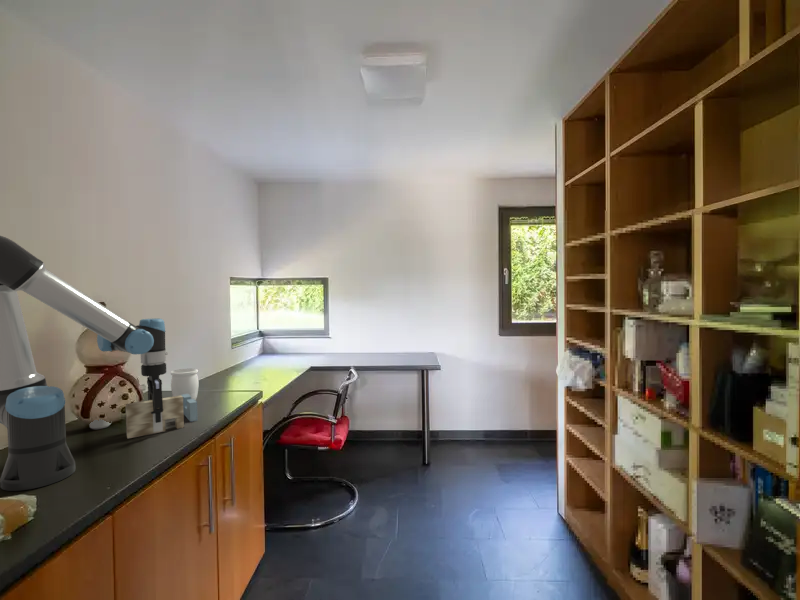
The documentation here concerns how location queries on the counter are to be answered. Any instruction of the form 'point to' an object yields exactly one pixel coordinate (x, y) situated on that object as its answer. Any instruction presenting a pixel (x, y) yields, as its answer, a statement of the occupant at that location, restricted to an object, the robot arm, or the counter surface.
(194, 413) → the blue board
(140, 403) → the birch plate
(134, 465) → the counter surface
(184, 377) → the jar
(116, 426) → the counter surface
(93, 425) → the beverage can
